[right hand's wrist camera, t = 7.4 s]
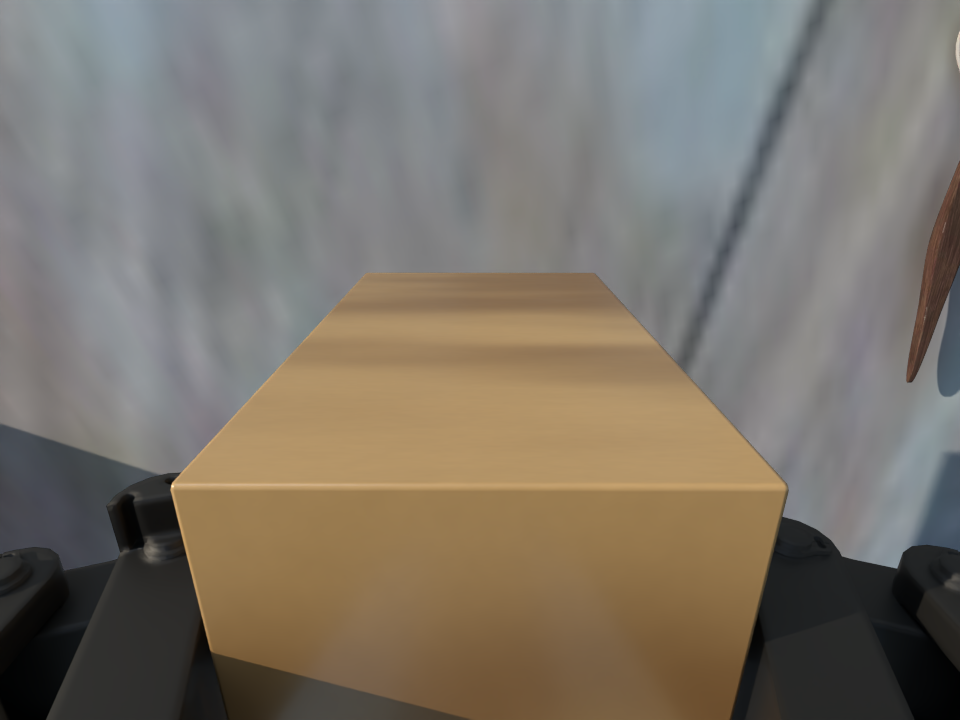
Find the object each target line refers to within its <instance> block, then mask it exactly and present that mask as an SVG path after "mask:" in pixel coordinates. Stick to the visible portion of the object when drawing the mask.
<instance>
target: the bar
mask: <svg viewBox="0 0 960 720" xmlns="http://www.w3.org/2000/svg"><path fill="white" fill-rule="evenodd" d="M788 491H789V490H788V485H787V483H786V482H785V481H784V480H783V479H782V478H781V477H780V476H779V475H778V473H777V472H776V471H775V470H774V469H773V468H772V467H771V466H770V465H769V464H768V462H767V461H766V460H765V459H764V458H763V457H762V456H761V455H760V454H759V453H758V452H757V450H756V449H755V448H754V447H753V446H752V445H751V444H750V443H749V442H748V441H747V439H746V438H745V437H744V436H743V435H742V434H741V433H740V432H739V431H738V430H737V428H736V427H735V426H734V425H733V424H732V423H731V422H730V421H729V420H728V419H727V418H726V416H725V415H724V414H723V413H722V412H721V411H720V410H719V409H718V408H717V407H716V405H715V404H714V403H713V402H712V401H711V400H710V399H709V398H708V397H707V396H706V395H705V393H704V392H703V391H702V390H701V389H700V388H699V387H698V386H697V385H696V384H695V382H694V381H693V380H692V379H691V378H690V377H689V376H688V375H687V374H686V373H685V372H684V370H683V369H682V368H681V367H680V366H679V365H678V364H677V363H676V362H675V361H674V359H673V358H672V357H671V356H670V355H669V354H668V353H667V352H666V351H665V350H664V348H663V347H662V346H661V345H660V344H659V343H658V342H657V341H656V340H655V339H654V338H653V336H652V335H651V334H650V333H649V332H648V331H647V330H646V329H645V328H644V327H643V325H642V324H641V323H640V322H639V321H638V320H637V319H636V318H635V317H634V316H633V315H632V313H631V312H630V311H629V310H628V309H627V308H626V307H625V306H624V305H623V304H622V302H621V301H620V300H619V299H618V298H617V297H616V296H615V295H614V294H613V293H612V292H611V290H610V289H609V288H608V287H607V286H606V285H605V284H604V283H603V282H602V281H601V279H600V278H599V277H598V276H597V275H596V274H595V273H366V274H365V275H364V276H363V277H362V278H361V279H360V280H359V281H358V283H357V284H356V285H355V286H354V287H353V288H352V289H351V290H350V291H349V292H348V293H347V294H346V295H345V297H344V298H343V299H342V300H341V301H340V302H339V303H338V304H337V305H336V306H335V307H334V308H333V310H332V311H331V312H330V313H329V314H328V315H327V316H326V317H325V318H324V319H323V320H322V321H321V323H320V324H319V325H318V326H317V327H316V328H315V329H314V330H313V331H312V332H311V333H310V334H309V335H308V337H307V338H306V339H305V340H304V341H303V342H302V343H301V344H300V345H299V346H298V347H297V348H296V350H295V351H294V352H293V353H292V354H291V355H290V356H289V357H288V358H287V359H286V360H285V361H284V363H283V364H282V365H281V366H280V367H279V368H278V369H277V370H276V371H275V372H274V373H273V374H272V375H271V377H270V378H269V379H268V380H267V381H266V382H265V383H264V384H263V385H262V386H261V387H260V388H259V390H258V391H257V392H256V393H255V394H254V395H253V396H252V397H251V398H250V399H249V400H248V401H247V402H246V404H245V405H244V406H243V407H242V408H241V409H240V410H239V411H238V412H237V413H236V414H235V415H234V417H233V418H232V419H231V420H230V421H229V422H228V423H227V424H226V425H225V426H224V427H223V428H222V430H221V431H220V432H219V433H218V434H217V435H216V436H215V437H214V438H213V439H212V440H211V441H210V442H209V444H208V445H207V446H206V447H205V448H204V449H203V450H202V451H201V452H200V453H199V454H198V455H197V457H196V458H195V459H194V460H193V461H192V462H191V463H190V464H189V465H188V466H187V467H186V468H185V470H184V471H183V472H182V473H181V474H180V475H179V476H178V477H177V478H176V479H175V480H174V481H173V482H172V485H171V493H172V498H173V502H174V506H175V510H176V514H177V518H178V522H179V526H180V530H181V534H182V538H183V542H184V546H185V550H186V554H187V558H188V562H189V566H190V570H191V574H192V578H193V583H194V587H195V591H196V595H197V599H198V603H199V607H200V611H201V615H202V619H203V623H204V627H205V631H206V635H207V639H208V643H209V647H210V651H211V655H212V659H213V663H214V667H215V672H216V676H217V680H218V684H219V688H220V692H221V696H222V700H223V704H224V708H225V712H226V716H227V720H732V717H733V713H734V709H735V705H736V701H737V697H738V693H739V689H740V685H741V681H742V677H743V673H744V669H745V665H746V661H747V657H748V653H749V648H750V644H751V640H752V636H753V632H754V628H755V624H756V620H757V616H758V612H759V608H760V604H761V600H762V596H763V592H764V588H765V584H766V580H767V576H768V572H769V568H770V564H771V560H772V556H773V552H774V548H775V544H776V540H777V536H778V531H779V527H780V523H781V519H782V515H783V511H784V507H785V503H786V499H787V495H788Z"/></svg>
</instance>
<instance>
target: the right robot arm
mask: <svg viewBox="0 0 960 720" xmlns="http://www.w3.org/2000/svg"><path fill="white" fill-rule="evenodd" d="M180 474H181V473H168V474H164V475H159V476H155V477H151V478H148V479H145V480H143V481H140V482H138V483H136V484H133V485H131V486H129V487H128V488H126V489H125V490H123V491H122V492H120V493H118V494H117V495H116V496H115V497H114V498H113V499H112V500H111V501H110V502H109V504H108V505H107V510H108V513H109V516H110V520H111V523H112V526H113V530H114V533H115V536H116V540H117V543H118V546H119V550H120V555H119V557H118V559H116V560H113V561H109V562H104V563H100V564H95V565H90V566H85V567H81V568H76V569H71V570H66V571H64V570H63V567H62V564H61V561H60V558H59V556H58V554H56V553H55V552H54V551H52V550H51V549H47V548H38V547H32V548H25V549H19V550H13V551H9V552H5V553H4V554H0V720H227V716H226V712H225V708H224V704H223V700H222V696H221V692H220V688H219V684H218V680H217V676H216V672H215V667H214V663H213V659H212V655H211V651H210V647H209V643H208V639H207V635H206V631H205V627H204V623H203V619H202V615H201V611H200V607H199V603H198V599H197V595H196V591H195V587H194V583H193V578H192V574H191V570H190V566H189V562H188V558H187V554H186V550H185V546H184V542H183V538H182V534H181V530H180V526H179V522H178V518H177V514H176V510H175V506H174V502H173V498H172V493H171V485H172V482H173V481H174V480H175V479H176V478H177V477H178V476H179V475H180ZM732 720H960V552H958V550H954V549H950V548H945V547H938V546H931V545H921V546H912V547H910V548H909V549H907V550H906V551H905V552H903V554H902V557H901V560H900V563H899V566H898V568H897V569H896V568H891V567H886V566H881V565H877V564H872V563H867V562H862V561H858V560H853V559H849V558H845V557H842V556H841V554H840V552H839V550H838V549H837V548H836V546H835V545H834V544H833V542H832V541H831V540H830V539H829V538H827V537H826V536H825V535H823V534H822V533H821V532H819V531H818V530H816V529H814V528H812V527H810V526H808V525H806V524H804V523H802V522H799V521H796V520H792V519H788V518H785V517H782V519H781V523H780V527H779V531H778V536H777V540H776V544H775V548H774V552H773V556H772V560H771V564H770V568H769V572H768V576H767V580H766V584H765V588H764V592H763V596H762V600H761V604H760V608H759V612H758V616H757V620H756V624H755V628H754V632H753V636H752V640H751V644H750V648H749V653H748V657H747V661H746V665H745V669H744V673H743V677H742V681H741V685H740V689H739V693H738V697H737V701H736V705H735V709H734V713H733V717H732Z"/></svg>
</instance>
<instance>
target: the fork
mask: <svg viewBox="0 0 960 720" xmlns="http://www.w3.org/2000/svg"><path fill="white" fill-rule="evenodd" d="M956 60H957V65H958V68H959V71H960V32H959V35H958V38H957V42H956ZM959 265H960V161H959V164H958V166H957V169H956V171H955V174H954V176H953V179H952V181H951V184H950V186H949V189H948V191H947V194H946V196H945V199H944V201H943V204H942V207H941V209H940V212H939V214H938V217H937V220H936V223H935V226H934V228H933V231H932V235H931V238H930V241H929V245H928V249H927V254H926V259H925V265H924V272H923V279H922V285H921V292H920V299H919V305H918V311H917V317H916V322H915V327H914V332H913V337H912V342H911V348H910V353H909V360H908V367H907V383H908V382H912V381H913V380H914V378H915V376H916V374H917V372H918V370H919V368H920V366H921V363H922V361H923V359H924V356H925V354H926V351H927V348H928V346H929V343H930V340H931V338H932V335H933V332H934V330H935V327H936V324H937V322H938V319H939V316H940V314H941V311H942V308H943V306H944V303H945V301H946V298H947V296H948V293H949V291H950V288H951V286H952V283H953V281H954V278H955V276H956V273H957V270H958V268H959Z"/></svg>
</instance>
